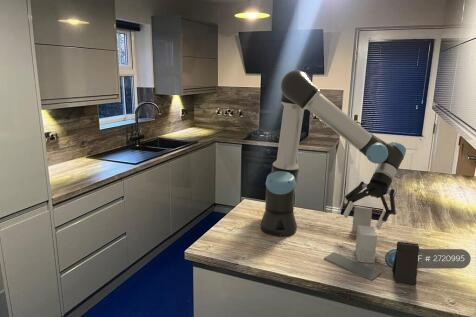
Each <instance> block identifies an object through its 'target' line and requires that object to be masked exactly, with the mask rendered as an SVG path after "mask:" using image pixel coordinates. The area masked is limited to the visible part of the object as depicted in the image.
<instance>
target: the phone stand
mask: <svg viewBox="0 0 476 317" xmlns="http://www.w3.org/2000/svg"><path fill="white" fill-rule="evenodd" d="M419 252H420V245H419V244H418V243H414V242H413V243H411V242H404V241H397V242H396V251H395V253H394V254H395V255H394V259H393V262H392V267H391V270H392V274H393V279H394V282H395V284H400V285H401V284H402V285H407V286H413V287H416V286H417V281H418V280H417V277H418V263H419Z"/></svg>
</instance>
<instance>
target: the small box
mask: <svg viewBox="0 0 476 317" xmlns="http://www.w3.org/2000/svg"><path fill="white" fill-rule="evenodd" d="M355 238H356V239H355V249H354V252H355V256H356V261H357V262H359V263H365V264H366V263H368V264H375V257H376V249H377V239H378V235H377V232H376V230H375V227H374V226H360V225H358V226H357V231H356V237H355Z"/></svg>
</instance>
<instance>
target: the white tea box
mask: <svg viewBox="0 0 476 317" xmlns="http://www.w3.org/2000/svg"><path fill="white" fill-rule="evenodd" d="M372 216H373V208H368V207H363V206H362V207H361V206H356V205H354V211H353V216H352V217H353V219H352V227H351V228H352V229H351V230H352V231H355V232H357V226H358V225H360V226H370V227H372V226H371V225H372Z"/></svg>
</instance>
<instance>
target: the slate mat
mask: <svg viewBox="0 0 476 317" xmlns="http://www.w3.org/2000/svg"><path fill="white" fill-rule="evenodd" d="M323 260H324V261H328V262H329V263H332V264H333V265H336V266H338V267H341V268H342V269H345V270H347V271H349V272H352V273H354V274H356V275H359V276H360V277H363V278H365V279H368V280H370V281H372V282H373V281H374V280H375V279H376V278H377V277H379V276H380V275H381V274H382V271H380V270H377V269H375V268H374V267H370V266H368V265H366V264H363V263H362V262H358V260H355V259H351V258H349V257H346V256H344V255H342V254H341V253H337V252H335V251H334V252H331V253H330V254H328V255H327V256H325V257H323Z"/></svg>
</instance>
